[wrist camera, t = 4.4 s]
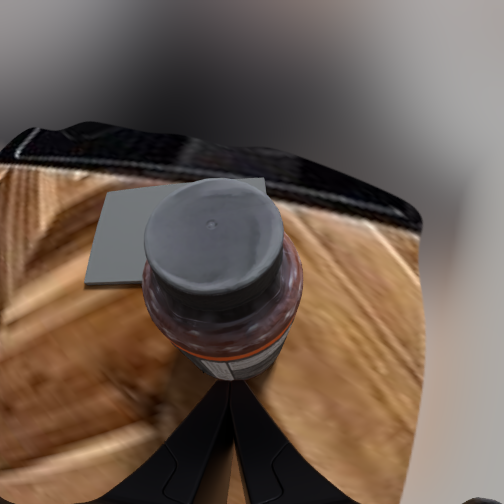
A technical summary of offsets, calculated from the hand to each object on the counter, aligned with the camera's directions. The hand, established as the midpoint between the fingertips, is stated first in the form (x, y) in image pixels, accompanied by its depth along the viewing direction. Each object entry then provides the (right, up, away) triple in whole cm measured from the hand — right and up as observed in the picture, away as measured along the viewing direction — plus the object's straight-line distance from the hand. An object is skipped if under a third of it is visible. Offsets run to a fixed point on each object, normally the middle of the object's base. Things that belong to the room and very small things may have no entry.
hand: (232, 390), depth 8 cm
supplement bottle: (0, -1, +9) cm, 9 cm away
